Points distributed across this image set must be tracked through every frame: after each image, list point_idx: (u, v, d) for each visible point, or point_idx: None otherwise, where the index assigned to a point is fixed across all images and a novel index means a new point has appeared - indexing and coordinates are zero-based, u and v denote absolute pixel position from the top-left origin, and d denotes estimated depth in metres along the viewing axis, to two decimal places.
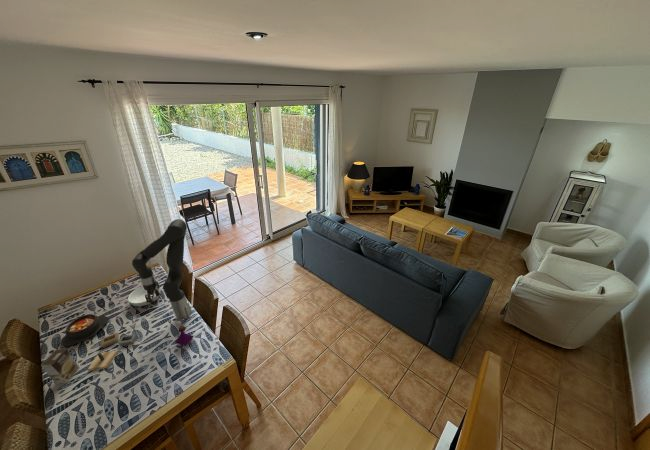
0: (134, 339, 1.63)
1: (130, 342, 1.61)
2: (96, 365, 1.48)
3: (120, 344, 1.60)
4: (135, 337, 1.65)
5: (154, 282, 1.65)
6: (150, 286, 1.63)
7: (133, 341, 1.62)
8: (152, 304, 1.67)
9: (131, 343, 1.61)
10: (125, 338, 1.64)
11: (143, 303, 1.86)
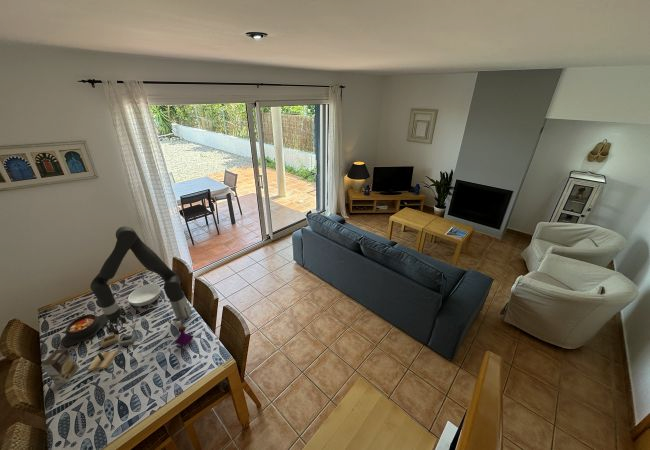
0: (134, 339, 1.63)
1: (130, 342, 1.61)
2: (96, 365, 1.48)
3: (120, 344, 1.60)
4: (135, 337, 1.65)
5: (117, 310, 1.51)
6: (112, 315, 1.49)
7: (133, 341, 1.62)
8: (116, 334, 1.53)
9: (131, 343, 1.61)
10: (125, 338, 1.64)
11: (143, 303, 1.86)
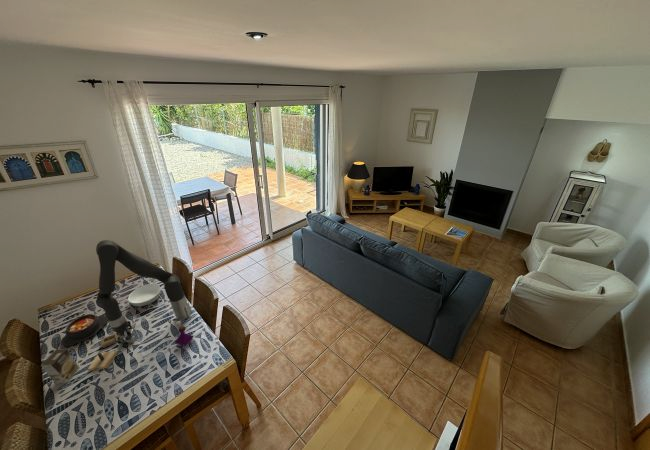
0: (134, 339, 1.63)
1: (130, 342, 1.61)
2: (96, 365, 1.48)
3: (120, 344, 1.60)
4: (135, 337, 1.65)
5: (124, 323, 1.55)
6: (119, 328, 1.54)
7: (133, 341, 1.62)
8: None
9: (131, 343, 1.61)
10: (125, 338, 1.64)
11: (143, 303, 1.86)
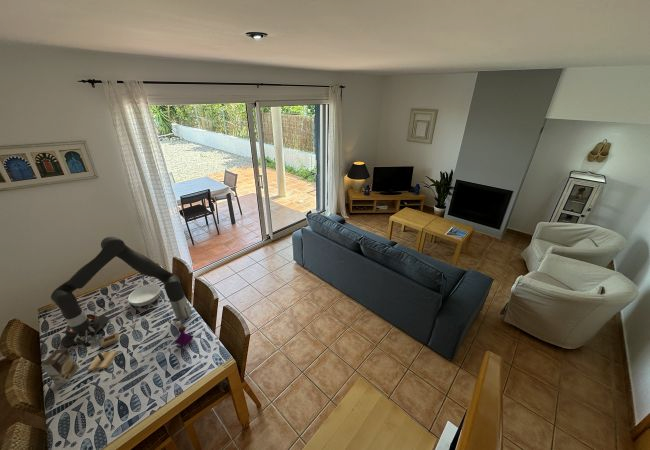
0: (98, 340, 1.44)
1: (93, 343, 1.42)
2: (96, 365, 1.48)
3: (81, 345, 1.41)
4: (99, 338, 1.45)
5: (84, 321, 1.36)
6: (79, 327, 1.34)
7: (96, 342, 1.43)
8: (86, 346, 1.40)
9: (94, 344, 1.42)
10: (88, 339, 1.45)
11: (143, 303, 1.86)
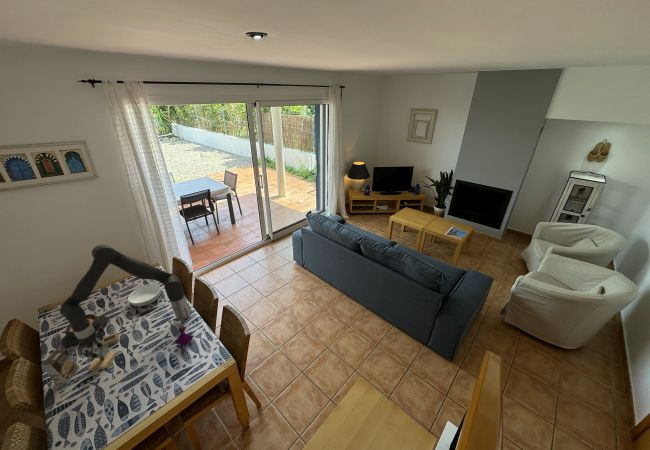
0: (105, 351, 1.49)
1: (100, 354, 1.46)
2: (96, 365, 1.48)
3: (89, 357, 1.45)
4: (106, 349, 1.50)
5: (92, 334, 1.41)
6: (87, 339, 1.39)
7: (103, 353, 1.47)
8: (94, 357, 1.45)
9: (101, 356, 1.47)
10: (95, 350, 1.49)
11: (143, 303, 1.86)
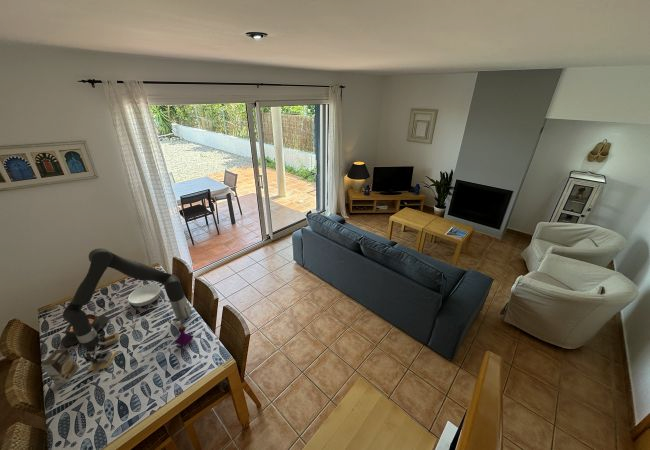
0: (108, 357, 1.51)
1: (104, 360, 1.48)
2: (96, 365, 1.48)
3: (93, 363, 1.48)
4: (110, 354, 1.52)
5: (94, 338, 1.42)
6: (89, 343, 1.40)
7: (107, 359, 1.50)
8: (94, 362, 1.45)
9: (105, 361, 1.49)
10: None
11: (143, 303, 1.86)
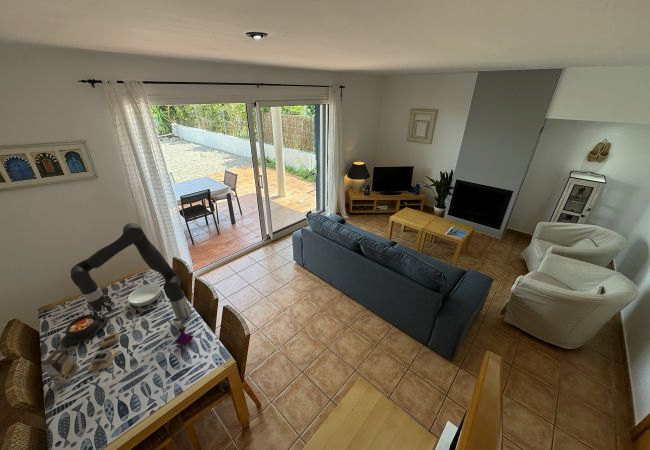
0: (108, 357, 1.51)
1: (104, 360, 1.48)
2: (96, 365, 1.48)
3: (93, 363, 1.48)
4: (110, 354, 1.52)
5: (100, 297, 1.45)
6: (96, 302, 1.43)
7: (107, 359, 1.50)
8: (101, 322, 1.47)
9: (105, 361, 1.49)
10: None
11: (143, 303, 1.86)
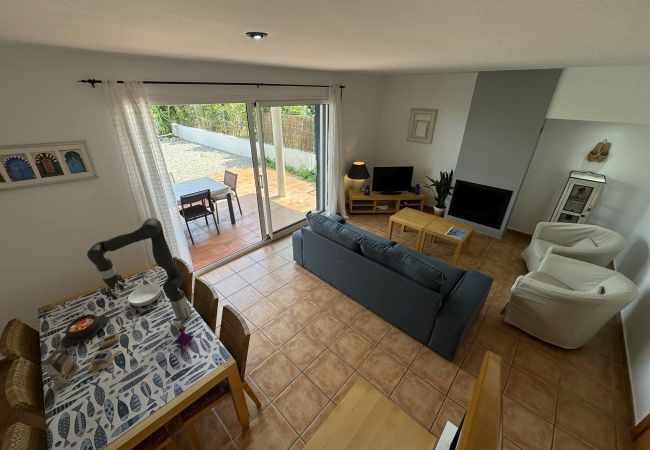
0: (108, 357, 1.51)
1: (104, 360, 1.48)
2: (96, 365, 1.48)
3: (93, 363, 1.48)
4: (110, 354, 1.52)
5: (115, 275, 1.54)
6: (110, 279, 1.52)
7: (107, 359, 1.50)
8: (114, 299, 1.56)
9: (105, 361, 1.49)
10: None
11: (143, 303, 1.86)
